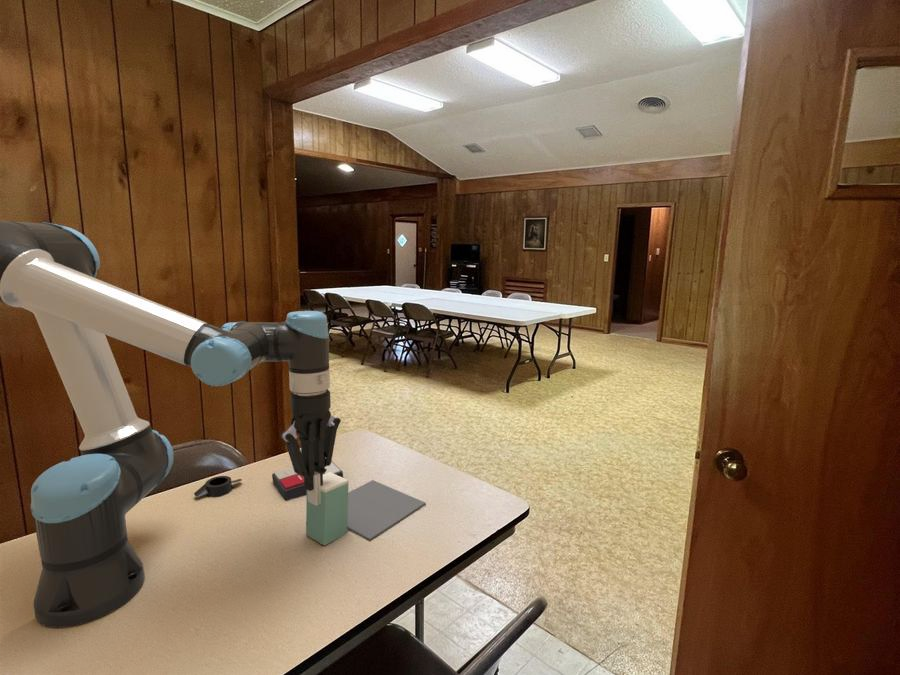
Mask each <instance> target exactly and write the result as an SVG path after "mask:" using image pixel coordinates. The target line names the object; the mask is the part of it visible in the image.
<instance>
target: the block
mask: <svg viewBox="0 0 900 675" xmlns="http://www.w3.org/2000/svg"><path fill="white" fill-rule="evenodd" d="M320 488H321V504H319V505H317V506H315V505H314V504H312V503H310V502H308V490H307V495H306V508H305V509H306V511H305V513H306V514H305V516H306V518H305V522H306V524H305V535H306V536H308V537H309V538H310V539H313V540H314V541H316V542H318V543H320V544H321V545H322V546H325V547H326V545H328V544H330V543H332V542H333V541H336V540H338V539H339V538H341V537H343V536H346V534H348V529H347V520H348V493H349V479H346V478H344V477H343V478H342V477H340V476H338V475H336V474H333V473H331V472H329V473H326V474H323V485H322V486H320Z"/></svg>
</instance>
